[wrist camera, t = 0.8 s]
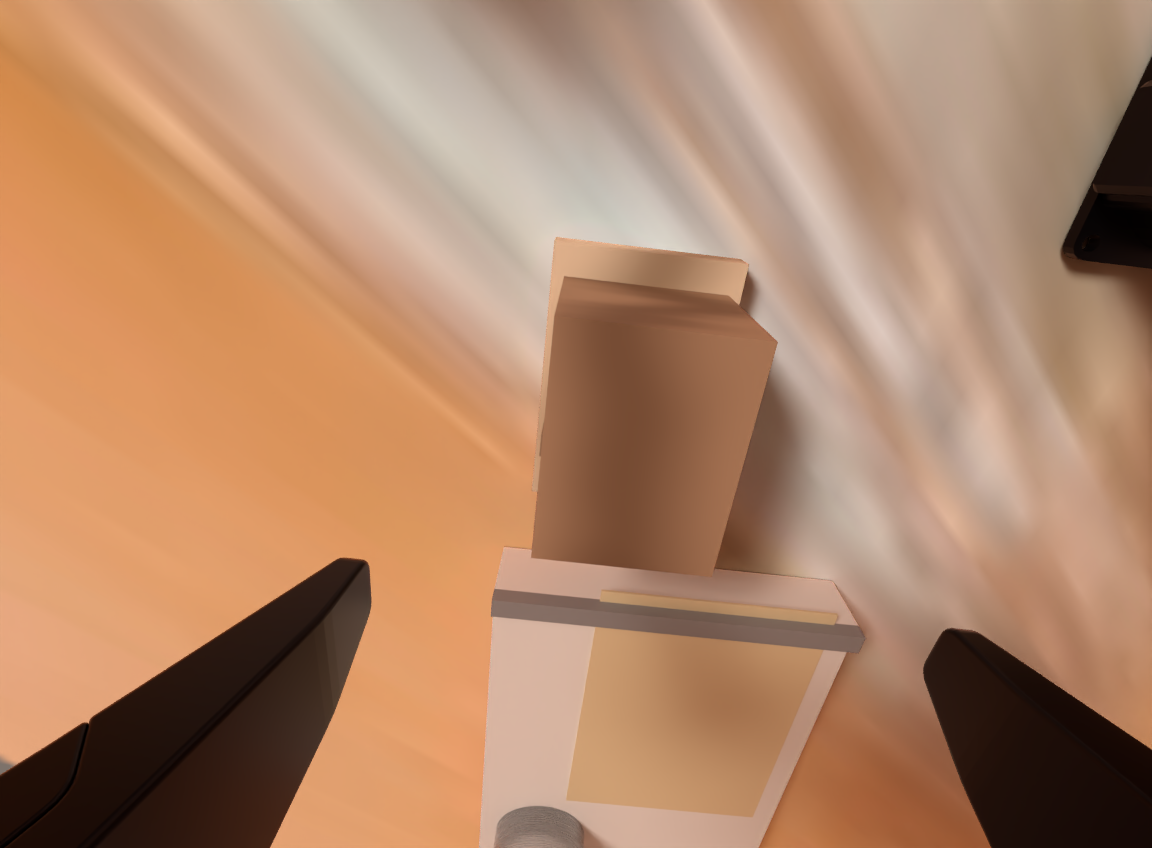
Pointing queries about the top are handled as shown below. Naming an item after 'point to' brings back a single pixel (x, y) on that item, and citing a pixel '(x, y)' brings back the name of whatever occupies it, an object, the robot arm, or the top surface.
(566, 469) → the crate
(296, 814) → the top surface
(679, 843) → the dock
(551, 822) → the canister
